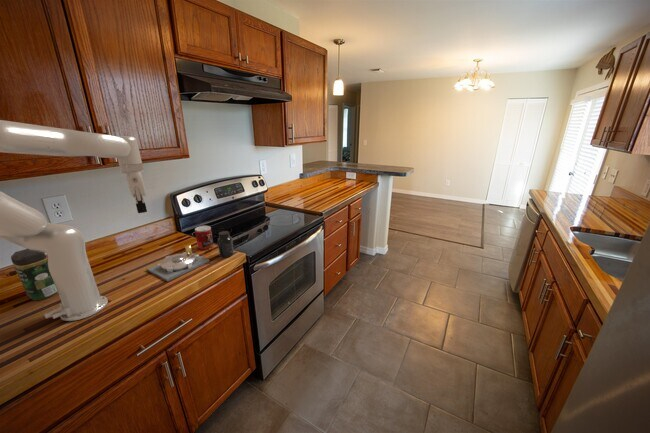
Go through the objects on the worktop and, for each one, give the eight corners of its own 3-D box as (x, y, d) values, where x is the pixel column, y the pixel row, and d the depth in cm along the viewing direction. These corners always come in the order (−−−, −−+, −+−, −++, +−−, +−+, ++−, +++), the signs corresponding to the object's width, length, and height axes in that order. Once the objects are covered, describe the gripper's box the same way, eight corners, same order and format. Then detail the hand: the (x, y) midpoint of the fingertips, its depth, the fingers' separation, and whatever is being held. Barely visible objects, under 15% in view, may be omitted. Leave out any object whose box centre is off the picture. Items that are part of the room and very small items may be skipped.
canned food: (204, 251, 136) (201, 231, 132) (194, 248, 139) (191, 229, 136) (216, 246, 142) (214, 227, 138) (207, 243, 146) (204, 224, 142)
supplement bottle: (216, 256, 131) (213, 233, 127) (227, 250, 136) (224, 229, 133) (226, 259, 128) (223, 236, 124) (236, 253, 133) (234, 231, 130)
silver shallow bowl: (175, 275, 112) (172, 262, 109) (152, 267, 118) (149, 254, 116) (204, 260, 124) (202, 248, 122) (182, 253, 131) (179, 242, 129)
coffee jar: (24, 296, 100) (4, 252, 94) (51, 286, 107) (35, 244, 101) (35, 303, 96) (15, 258, 90) (63, 292, 103) (46, 249, 97)
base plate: (167, 281, 109) (166, 278, 109) (146, 270, 118) (146, 267, 117) (209, 261, 125) (209, 258, 125) (189, 253, 134) (188, 250, 133)
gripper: (144, 169, 101) (154, 214, 107) (142, 165, 112) (151, 206, 118) (120, 171, 97) (132, 218, 103) (120, 167, 108) (131, 209, 114)
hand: (142, 212), depth 111 cm, fingers closed
